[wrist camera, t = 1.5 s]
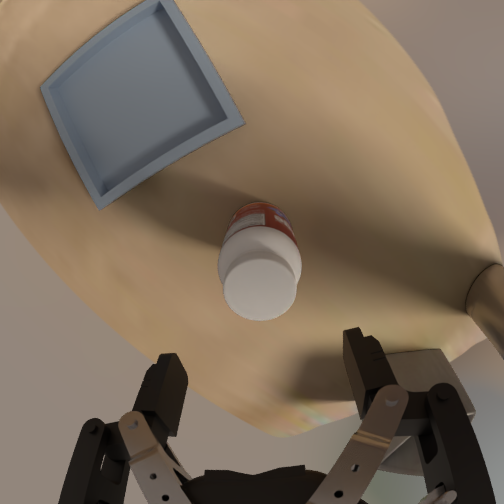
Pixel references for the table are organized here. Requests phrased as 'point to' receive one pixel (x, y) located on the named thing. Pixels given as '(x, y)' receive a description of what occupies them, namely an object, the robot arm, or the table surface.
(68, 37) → the table surface
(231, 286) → the pill bottle
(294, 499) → the robot arm
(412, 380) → the planter
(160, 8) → the tray
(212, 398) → the table surface
